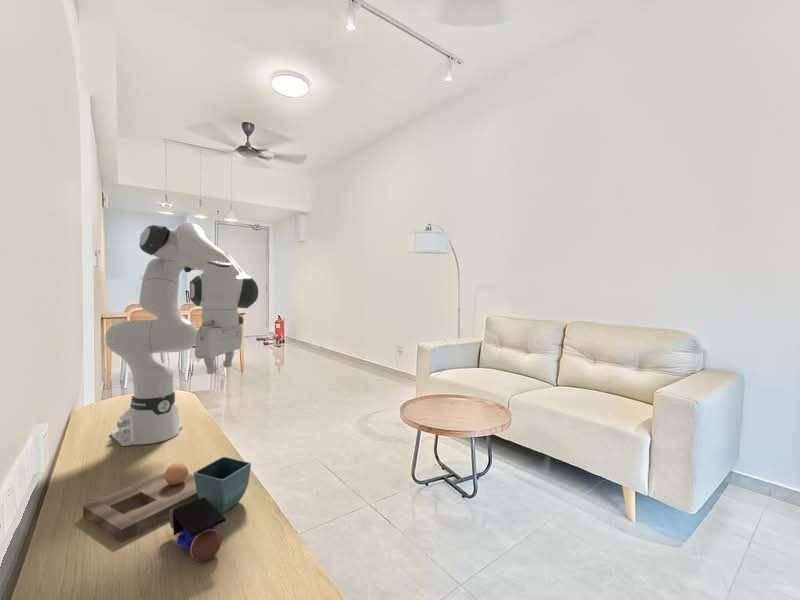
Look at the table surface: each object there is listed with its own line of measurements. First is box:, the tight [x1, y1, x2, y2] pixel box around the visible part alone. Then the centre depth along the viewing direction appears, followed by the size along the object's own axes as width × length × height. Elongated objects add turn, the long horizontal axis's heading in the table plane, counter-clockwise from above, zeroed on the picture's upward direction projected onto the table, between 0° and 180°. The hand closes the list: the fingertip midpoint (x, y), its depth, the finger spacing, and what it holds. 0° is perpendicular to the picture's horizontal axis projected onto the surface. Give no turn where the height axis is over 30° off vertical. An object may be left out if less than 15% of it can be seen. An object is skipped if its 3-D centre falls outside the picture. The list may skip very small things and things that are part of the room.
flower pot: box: [193, 456, 252, 514], centre depth 86 cm, size 9×9×9 cm
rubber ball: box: [164, 461, 189, 485], centre depth 91 cm, size 5×5×5 cm
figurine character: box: [168, 497, 227, 562], centre depth 73 cm, size 7×8×15 cm
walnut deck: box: [82, 472, 199, 543], centre depth 86 cm, size 16×20×2 cm
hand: (220, 370), depth 103 cm, fingers open, 8 cm apart
